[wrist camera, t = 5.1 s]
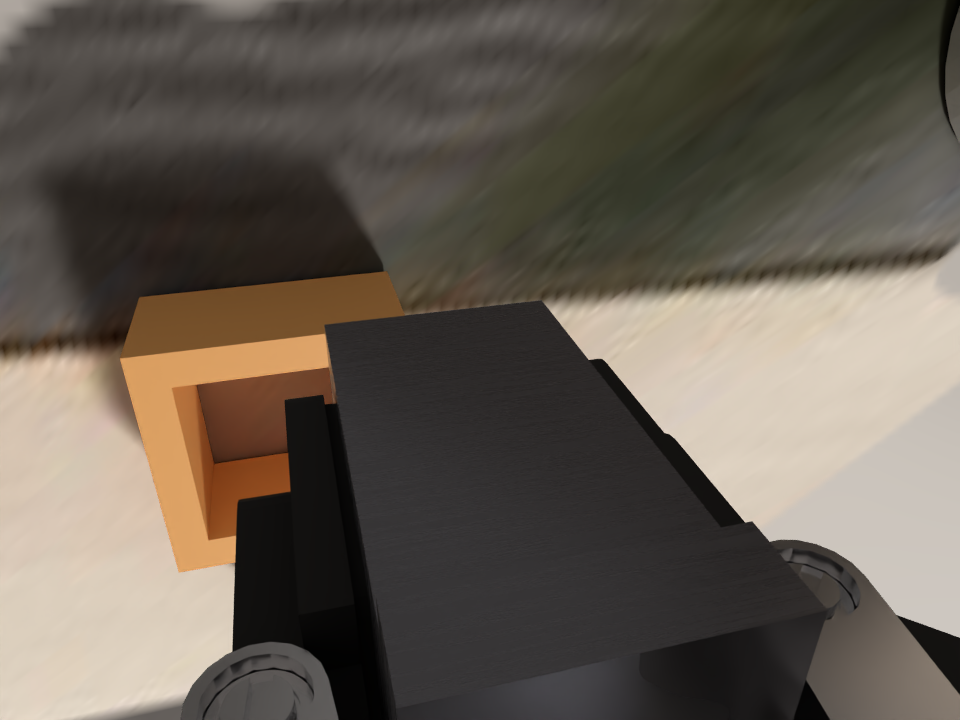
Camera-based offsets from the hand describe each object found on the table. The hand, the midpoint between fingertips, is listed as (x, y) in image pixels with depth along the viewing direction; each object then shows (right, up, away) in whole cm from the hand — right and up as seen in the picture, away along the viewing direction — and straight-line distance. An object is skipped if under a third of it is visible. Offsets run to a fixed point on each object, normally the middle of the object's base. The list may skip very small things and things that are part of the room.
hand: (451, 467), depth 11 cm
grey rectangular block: (0, 0, +1) cm, 1 cm away
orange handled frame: (-7, -4, +20) cm, 22 cm away
